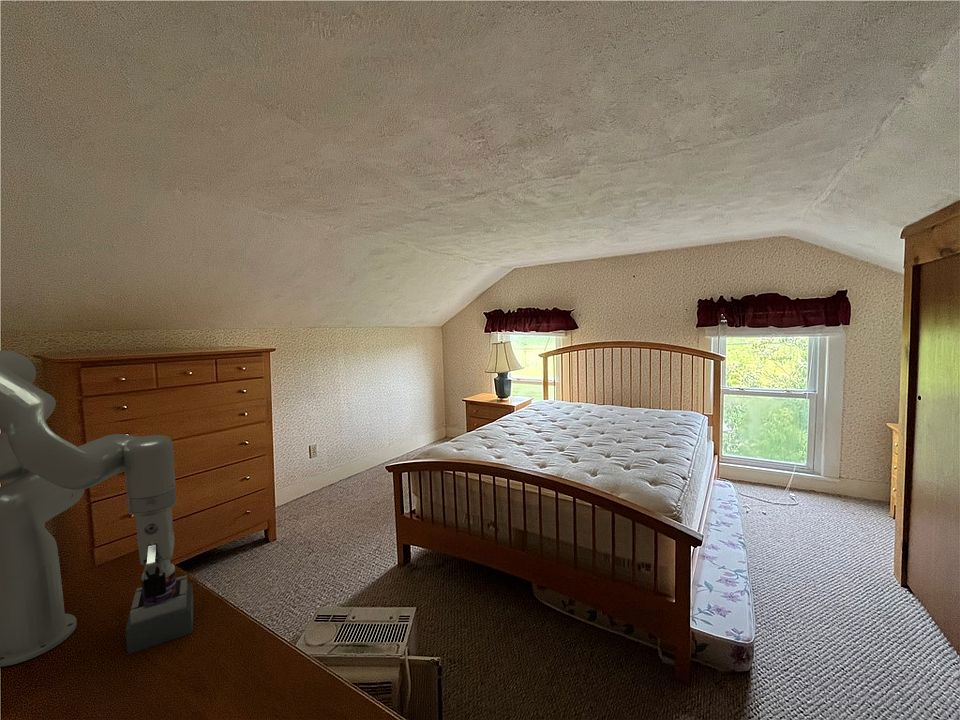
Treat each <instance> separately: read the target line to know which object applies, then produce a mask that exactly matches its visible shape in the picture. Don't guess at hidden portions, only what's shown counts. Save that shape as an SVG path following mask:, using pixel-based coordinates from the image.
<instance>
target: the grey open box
mask: <svg viewBox="0 0 960 720" xmlns="http://www.w3.org/2000/svg"><path fill="white" fill-rule="evenodd" d="M188 581H189V580H188V574H186V575H182V576H178V577H176V590H177V597H175V598H171V599H168V600H164V601H161V602H157V603H154V604H150V605H147V606H143V594H142V586H141V587H138V588H137V587H136V588H135V593H134V596H133V599H132V602H131V606H130V611H129V615H128V618H127V622H126V626H125V640H126V651H127V655H131V654H133V653H137V652H140V651H143V650H146V649H149V648H151V647H155V646H158V645H161V644H163V643H164V644H165V643H167V642H169V641H174V640H176V639H179V638H182V637H185V636H189V635H191V634H193V629H194V628H193V627H194V609H195V608H194V606H195V604H194V593H193V592H194V589H193V582H190V583H189V582H188Z"/></svg>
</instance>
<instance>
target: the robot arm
mask: <svg viewBox="0 0 960 720" xmlns="http://www.w3.org/2000/svg"><path fill="white" fill-rule="evenodd" d="M36 376H37V371H36V367H35V365H34V364H33V362H32V361H31V360H30V359H29V358H27V356H25V355H23V354H22V353H21V354H20V353H18V352H14V351H11V350H0V430H1V431H2V433H0V485H1V484H3V483H5V484H4V485H2V486H0V668H2V667H9V666H13V665H18V664H21V663H22V662H26V661H29V660H31V659H34V658H36V657H38V656H41V655H43V654H45V653H47V652H49V651H51V650H52V649H54V648H56V647H57V646H58V645H60V644H62V643H64V641H65V640H67V639H68V638H69V637H70V636H71V635H72V634H73V633H74V632H75V630H76V629H77V624H78V622H77V617H75V615H73V614H71V613H65V603H64V595H63V585H62V574H61V566H60V557H59V551H58V550H59V549H58V545H57V541H56V539H55V537H54V536H53V535H52V533H50V532H49V531H48V530H47V528H46V525H45V523H46V522H47V521H50V520H51V519H52V518H54V517H56V516H58V515H60V514H62V513H63V512H65V511H67V510H68V509H70V508H72V507H73V506H75V504H77V503H78V502H79V501H80V500H81V499H82V497H83V496H84V494H85V490H86V489H90V488H92V487H95V486H96V485H99V484H100V483H103V482H104V481H106V480H108V479H110V478H111V477H114V476H116V475H119V474H121V473H123V472H124V474H125V488H126V489H125V490H126V497H127V498H126V501H127V502H126V503H127V513H128V514H129V515H130V516H135V518H136V519H135V520H136V521H135V522H136V535H137V536H136V537H137V546H138V547H137V548H138V550H137V551H138V557H139V564H140V565H141V566H144V570H143V572H144V592H145V598H146V599H148V598H152V597H155V596H159V595H163V594H165V593H166V579H165V573H163V560H167V559H168V560H170V561H171V559H172V558H173V555H174V554H173V553H174V550H175V531H174V520H173V511H172V510H173V509H172V508H173V507H174V506H175V505H176V504H177V491H176V489H177V487H176V475H175V473H176V472H175V456H174V444H173V440H172V438H171V437H170V436H167V435H162V434H153V435H144V436H139V435H133V434H132V435H131V434H121V433H116V434H108V435H104V436H102V437H100V438H97V439H94V440H91V441H88V442H86V443H84V444H81V445H78V446H77V445H75V444H73V443H71V442H70V441H68V440H66V439H64V438H62V437H61V436H59V435H58V434H56V433H55V431H53V430H52V429H51V428H50V427H49V425H48V424H47V423H48V422H47V420H48V419H49V418H50V416H51V415H52V414H53V412H54V411H55V408H56V405H57V401H56V399H55V398H54V396H53V395H51V394H50V393H48V392H46V391H45V390H43V389H41V388H39V387H38V386H36V385H35V384H33V383H34V382H35V379H36ZM159 556H160V558H159V559H156V557H159ZM157 563H159V568H158V567H156V564H157Z"/></svg>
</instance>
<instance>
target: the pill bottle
mask: <svg viewBox="0 0 960 720" xmlns="http://www.w3.org/2000/svg"><path fill="white" fill-rule="evenodd" d="M159 558H160V556H159V557H156V559H159ZM156 567H158V568H159V563H157V564H156ZM163 573H165V579H166V593H165V594H163V595H159V596H155V597H152V598H148V599H146V598H145V592H144V571H143V572H142V574H141V587H142V594H143V606H147V605H150V604H154V603H157V602H161V601H164V600H168V599H171V598H175V597H177V590H176V578H177V577H176V567H175V565H174V563H171V559H170V560H168V559H167V560H163Z"/></svg>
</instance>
